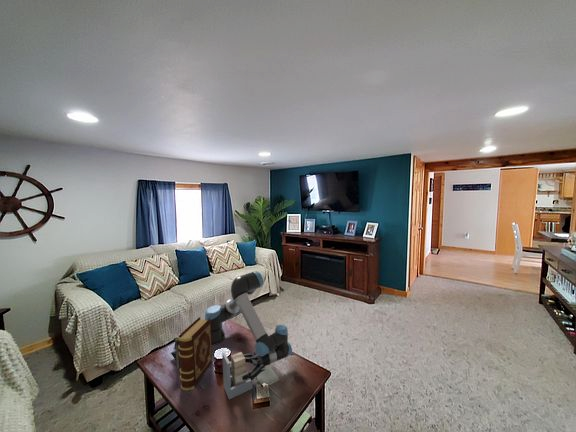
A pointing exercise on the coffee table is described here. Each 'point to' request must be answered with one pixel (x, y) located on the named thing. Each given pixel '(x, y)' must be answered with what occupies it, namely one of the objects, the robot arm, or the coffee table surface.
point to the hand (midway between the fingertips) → (231, 372)
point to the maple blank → (237, 367)
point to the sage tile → (267, 376)
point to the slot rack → (228, 381)
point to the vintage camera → (176, 352)
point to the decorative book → (195, 352)
